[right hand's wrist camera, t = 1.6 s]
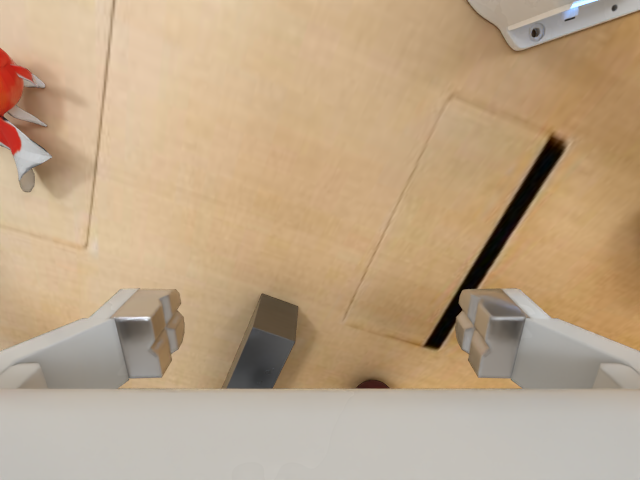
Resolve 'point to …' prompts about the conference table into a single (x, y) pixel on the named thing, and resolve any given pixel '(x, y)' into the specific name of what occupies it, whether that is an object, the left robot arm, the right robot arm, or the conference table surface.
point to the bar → (264, 345)
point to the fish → (3, 94)
